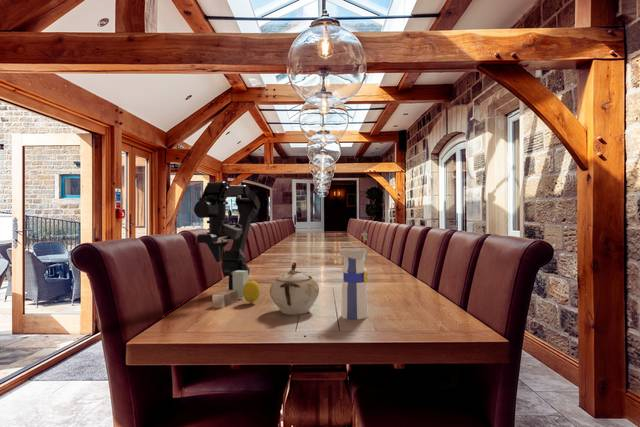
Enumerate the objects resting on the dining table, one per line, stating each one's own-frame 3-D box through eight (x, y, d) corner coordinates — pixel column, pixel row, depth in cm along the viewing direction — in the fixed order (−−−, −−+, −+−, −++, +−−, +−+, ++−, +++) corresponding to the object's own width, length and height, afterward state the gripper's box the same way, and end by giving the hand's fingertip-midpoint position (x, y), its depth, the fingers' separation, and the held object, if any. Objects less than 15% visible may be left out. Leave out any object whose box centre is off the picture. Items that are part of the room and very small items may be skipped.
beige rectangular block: (212, 307, 141) (227, 301, 150) (223, 307, 140) (237, 301, 149) (212, 294, 141) (227, 289, 150) (223, 295, 140) (237, 290, 149)
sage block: (238, 296, 158) (237, 270, 158) (248, 297, 157) (248, 270, 156) (232, 298, 154) (232, 271, 154) (243, 299, 153) (242, 272, 153)
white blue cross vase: (371, 313, 130) (370, 228, 129) (366, 320, 121) (365, 230, 121) (344, 311, 132) (343, 228, 132) (337, 318, 124) (336, 230, 123)
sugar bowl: (313, 320, 122) (312, 266, 122) (261, 319, 125) (260, 266, 125) (323, 305, 142) (323, 258, 142) (279, 304, 144) (278, 258, 144)
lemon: (261, 301, 148) (261, 278, 148) (257, 305, 142) (257, 280, 142) (245, 301, 148) (245, 278, 148) (241, 305, 143) (240, 281, 143)
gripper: (224, 217, 143) (225, 265, 143) (250, 216, 161) (250, 259, 161) (194, 218, 146) (195, 264, 146) (223, 217, 164) (223, 258, 164)
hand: (218, 261), depth 154 cm, fingers closed
